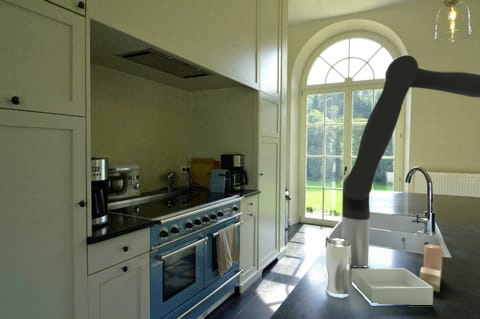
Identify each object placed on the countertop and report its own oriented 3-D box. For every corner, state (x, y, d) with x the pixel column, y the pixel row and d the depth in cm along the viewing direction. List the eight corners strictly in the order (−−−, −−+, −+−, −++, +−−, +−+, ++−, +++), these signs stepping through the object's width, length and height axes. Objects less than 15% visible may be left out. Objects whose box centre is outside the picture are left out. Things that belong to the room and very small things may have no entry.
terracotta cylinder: (425, 278, 97) (426, 248, 97) (421, 272, 102) (422, 243, 101) (443, 280, 96) (444, 250, 95) (438, 274, 100) (439, 245, 100)
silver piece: (330, 285, 91) (331, 237, 90) (353, 292, 87) (355, 242, 86) (320, 294, 86) (322, 242, 85) (345, 302, 81) (346, 248, 81)
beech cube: (439, 286, 92) (440, 270, 91) (439, 292, 88) (439, 276, 87) (421, 282, 95) (421, 266, 94) (419, 288, 91) (420, 271, 90)
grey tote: (371, 306, 79) (372, 288, 79) (351, 284, 92) (351, 268, 92) (432, 305, 80) (433, 287, 80) (404, 284, 93) (404, 268, 93)
